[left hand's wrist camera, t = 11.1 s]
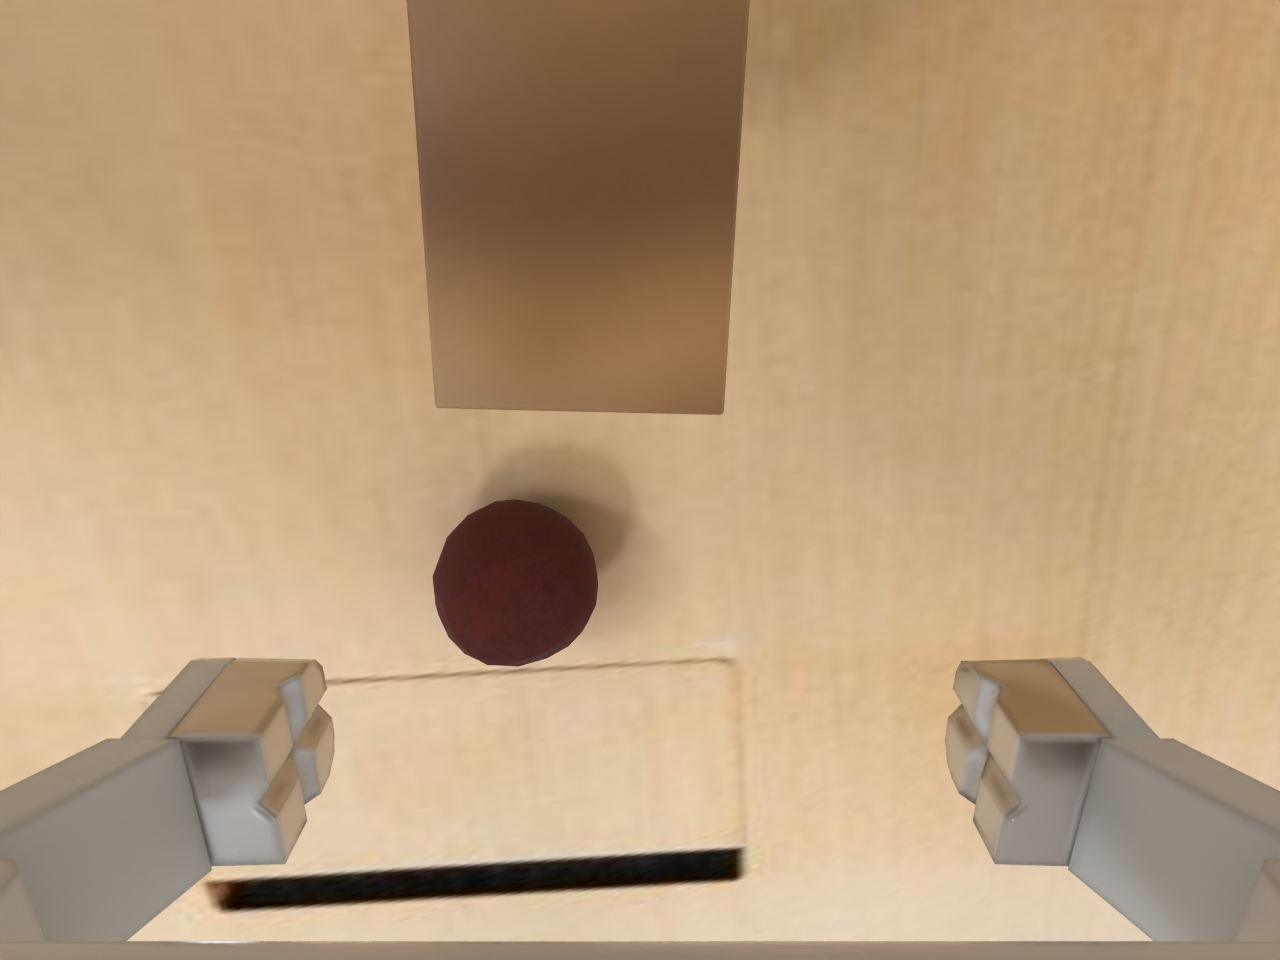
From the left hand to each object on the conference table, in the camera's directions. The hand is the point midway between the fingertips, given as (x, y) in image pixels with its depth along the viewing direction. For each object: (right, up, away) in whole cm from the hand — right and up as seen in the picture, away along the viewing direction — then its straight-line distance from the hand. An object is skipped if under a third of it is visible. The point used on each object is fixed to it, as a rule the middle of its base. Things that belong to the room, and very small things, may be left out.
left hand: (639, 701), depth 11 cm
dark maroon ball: (-6, -1, +30) cm, 31 cm away
